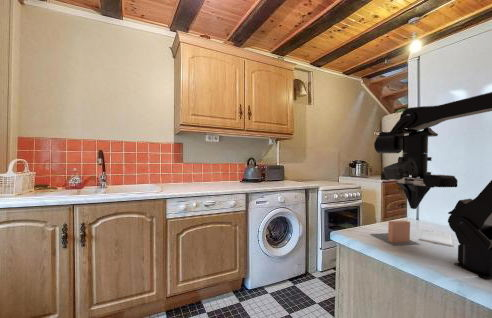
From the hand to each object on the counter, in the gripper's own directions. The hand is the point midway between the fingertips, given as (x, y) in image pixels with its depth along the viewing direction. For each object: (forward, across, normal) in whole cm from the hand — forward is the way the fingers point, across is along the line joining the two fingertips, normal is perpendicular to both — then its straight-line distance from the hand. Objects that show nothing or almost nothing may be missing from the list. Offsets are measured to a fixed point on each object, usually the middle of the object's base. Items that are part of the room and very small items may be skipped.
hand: (413, 208), depth 65 cm
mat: (+11, -7, 0) cm, 13 cm away
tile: (+11, -5, 0) cm, 12 cm away
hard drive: (+12, -5, +14) cm, 19 cm away
